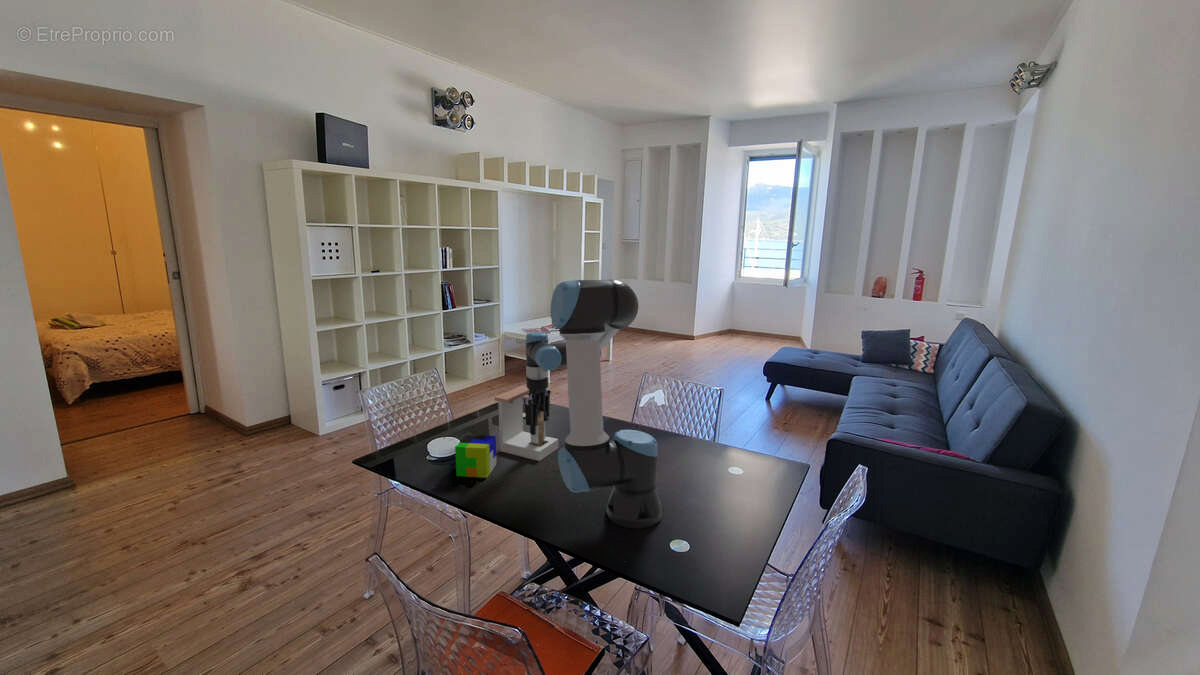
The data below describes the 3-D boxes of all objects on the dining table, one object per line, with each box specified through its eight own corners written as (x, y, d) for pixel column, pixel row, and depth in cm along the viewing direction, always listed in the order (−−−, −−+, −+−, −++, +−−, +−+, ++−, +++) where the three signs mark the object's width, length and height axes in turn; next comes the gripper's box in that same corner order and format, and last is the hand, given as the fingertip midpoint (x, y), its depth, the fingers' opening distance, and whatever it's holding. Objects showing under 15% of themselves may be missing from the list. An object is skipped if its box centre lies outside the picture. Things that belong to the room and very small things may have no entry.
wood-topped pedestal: (508, 446, 170) (507, 399, 167) (496, 443, 173) (494, 397, 169) (535, 431, 184) (534, 387, 181) (523, 428, 187) (522, 385, 183)
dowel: (539, 455, 172) (539, 414, 169) (530, 452, 174) (529, 412, 171) (546, 450, 176) (545, 411, 173) (536, 448, 178) (536, 409, 175)
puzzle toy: (496, 463, 165) (495, 436, 163) (487, 478, 156) (485, 448, 154) (467, 462, 166) (466, 434, 164) (456, 476, 156) (455, 446, 155)
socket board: (539, 461, 167) (539, 451, 167) (500, 451, 175) (499, 441, 174) (558, 448, 178) (558, 439, 177) (520, 439, 186) (519, 430, 185)
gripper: (532, 384, 160) (533, 451, 165) (559, 372, 175) (559, 433, 180) (513, 381, 164) (515, 446, 168) (542, 369, 178) (542, 430, 183)
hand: (538, 440), depth 174 cm, fingers closed on dowel, 4 cm apart
